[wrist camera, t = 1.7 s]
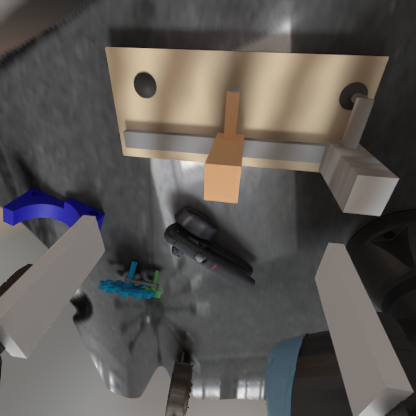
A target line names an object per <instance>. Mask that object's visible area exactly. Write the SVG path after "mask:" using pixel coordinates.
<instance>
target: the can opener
mask: <svg viewBox="0 0 416 416" xmlns="http://www.w3.org/2000/svg"><path fill="white" fill-rule="evenodd" d="M175 219H176V220H177V222H178V223H174V224H171V225H170V226H168V228H167V229H166V231H165V233H164V237H165V239H166V241H167V242H168V243H170V244H171V245H173V247H172V254H173V255H174V256H175V257H180V256H181V255H183V253H185V254H186V255H188V256H189V257H191V258H192V259H194V260H195V261H197V262H198V263H200V264H201V265H203V266H205V267H206V268H208V269H210V270H211V271H213V272H215V273H217V274H218V275H220V276H222V277H224V278H226V279H228V280H229V281H231V282H234V283H236V284H238V285H240V286H243V287H245V288H251V287H253V286H254V285H255V280H254V279H253V278H251V277H250V276H251V275H252V273H253V271H252V269H251V268H250V267H249V266H247V265H246V264H245V263H244V262H242V261H241V260H239V259H238V258H236V257H235V256H233V255H231V254H229V253H228V252H226V251H224V250H222V249H221V248H219V247H217V246H216V245H214V244H212V243H211V242H209V241H208V240H211V239H212V238H213V237H214V235H215V234H216V232H217V230H218V229H217V227H216V226H215V224H214V223H213V222H212V221H211V220H210V219H209V218H207V217H206V216H205V215H203V214H202V213H200V212H198V211H196V210H194V209H191V208H188V207H184V208H182V209H181V210H180V211H179V212H177V213H176V214H175Z"/></svg>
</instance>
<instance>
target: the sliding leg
mask: <svg viewBox="0 0 416 416" xmlns="http://www.w3.org/2000/svg"><path fill="white" fill-rule="evenodd" d="M239 95H240V91H239V90H238V88H237V87H232V88H231V90H230V91H227V95H226V111H225V126H224V133H217V135H216V138H215V140H214V143H213V145H212V147H211V150H210V152H209V155H208V157H207V159H206V162H205V177H204V200H210V201H219V202H229V203H237V202H238V193H239V184H240V175H241V166H242V155H243V144H244V135H243V134H236V128H237V117H238V106H239Z"/></svg>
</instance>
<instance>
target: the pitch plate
mask: <svg viewBox="0 0 416 416" xmlns="http://www.w3.org/2000/svg"><path fill="white" fill-rule="evenodd" d="M105 49H106V55H107V61H108V67H109V73H110V79H111V85H112V90H113V96H114V102H115V108H116V114H117V120H118V126H119V132H120V138H121V143H122V149H123V155H124V156H135V157H147V158H159V159H170V160H182V161H194V162H206V159H207V157H208V155H209V152H210V150H211V147H212V145H213V143H214V140H215V138H216V135H217V133H224V126H225V111H226V95H227V91H230V90H231V88H232V87H237V88H238V90H239V91H240V95H239V106H238V117H237V128H236V134H243V135H244V144H243V155H242V166H252V167H264V168H275V169H287V170H299V171H310V172H320V173H321V174H322V176H323V178H324V180H325V181H326V183H327V185H328V187H329V189H330V190H331V192H332V194H333V196H334V197H335V199H336V201H337V203H338V205H339V206H340V208H341V210H342V212H344V213H354V214H364V215H374V216H381V214H382V212H383V210H384V208H385V206H386V204H387V202H388V200H389V198H390V196H391V194H392V192H393V190H394V188H395V186H396V184H397V182H398V180H399V178H398V177H397V176H396V175H394V174H393V173H392V172H391V171H390V170H389V169H388V168H386V167H385V166H384V165H383V164H382V163H381V162H380V161H378V160H377V159H376V158H375V157H374V156H373V155H372V154H370V153H369V152H368V151H367V150H366V149H365V148H363V147H362V146H361V145H360V144H359V141H360V138H361V136H362V133H363V130H364V128H365V125H366V122H367V120H368V117H369V114H370V112H371V109H372V106H373V104H374V101H375V100H374V96H375V94H376V91H377V88H378V86H379V83H380V80H381V77H382V75H383V72H384V69H385V67H386V64H387V61H388V59H389V57H387V56H359V55H330V54H300V53H271V52H242V51H212V50H183V49H154V48H124V47H105Z"/></svg>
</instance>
